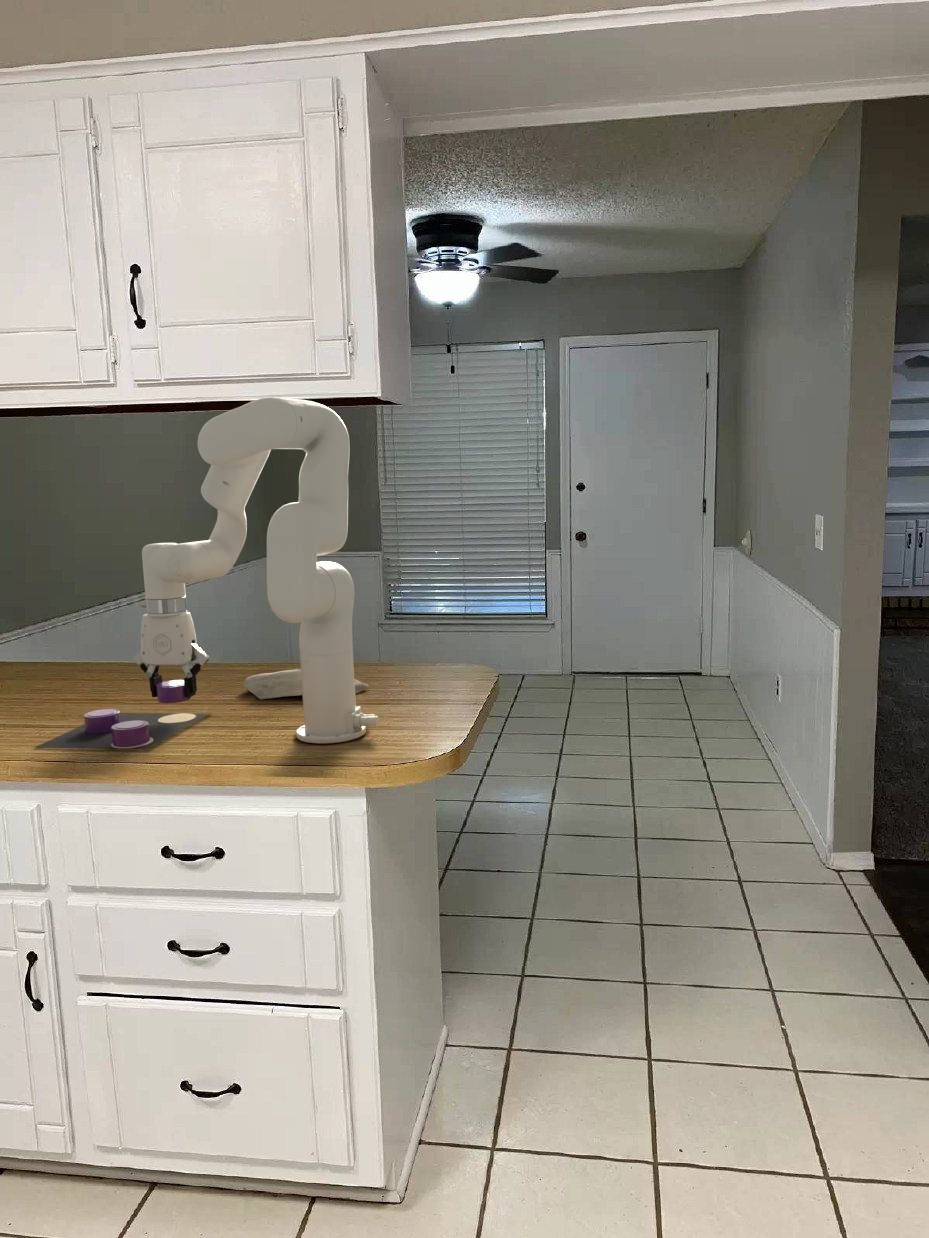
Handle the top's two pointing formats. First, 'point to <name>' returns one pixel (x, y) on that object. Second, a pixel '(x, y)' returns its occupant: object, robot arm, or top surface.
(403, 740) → the top surface
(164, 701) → the dish
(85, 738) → the mat
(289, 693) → the stone
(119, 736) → the purple short cylinder
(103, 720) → the dish
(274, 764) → the top surface
